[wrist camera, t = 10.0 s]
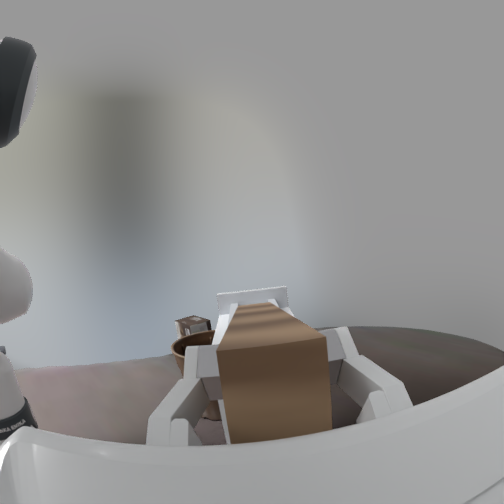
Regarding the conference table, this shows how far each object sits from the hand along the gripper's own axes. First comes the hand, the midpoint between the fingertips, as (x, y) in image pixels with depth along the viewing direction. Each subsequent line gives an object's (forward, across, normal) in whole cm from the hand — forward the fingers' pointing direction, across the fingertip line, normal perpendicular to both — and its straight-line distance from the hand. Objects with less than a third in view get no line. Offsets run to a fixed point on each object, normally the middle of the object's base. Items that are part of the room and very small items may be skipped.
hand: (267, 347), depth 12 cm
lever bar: (+5, 0, +8) cm, 9 cm away
